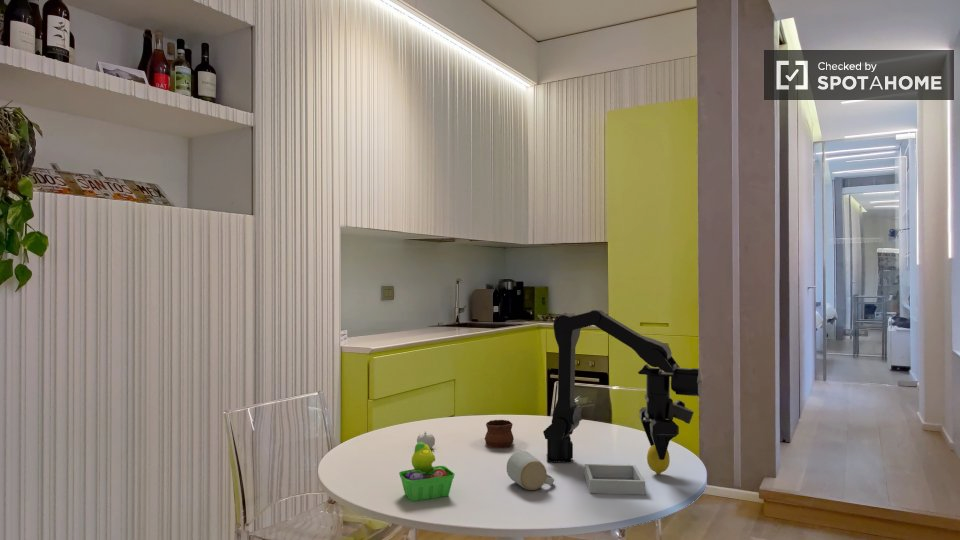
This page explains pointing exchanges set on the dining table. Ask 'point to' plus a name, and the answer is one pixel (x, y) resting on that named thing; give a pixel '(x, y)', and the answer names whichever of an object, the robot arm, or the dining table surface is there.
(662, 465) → the lemon
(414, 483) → the fruit basket
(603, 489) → the corral
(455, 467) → the dining table surface
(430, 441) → the garlic
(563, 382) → the robot arm
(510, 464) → the ceramic mug
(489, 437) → the ceramic pot
